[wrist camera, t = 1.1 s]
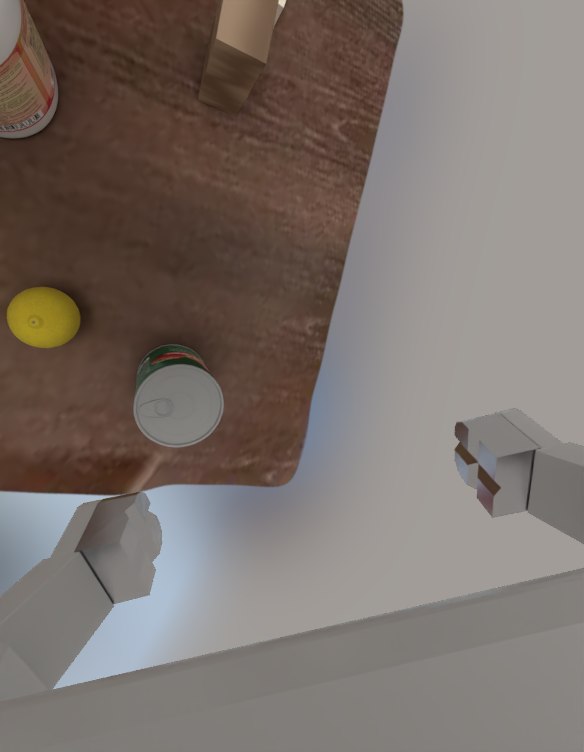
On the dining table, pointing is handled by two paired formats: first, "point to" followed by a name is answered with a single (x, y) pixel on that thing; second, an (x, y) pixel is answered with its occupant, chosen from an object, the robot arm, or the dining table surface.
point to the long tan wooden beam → (236, 52)
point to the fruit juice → (24, 74)
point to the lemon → (43, 317)
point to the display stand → (279, 9)
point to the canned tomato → (176, 397)
